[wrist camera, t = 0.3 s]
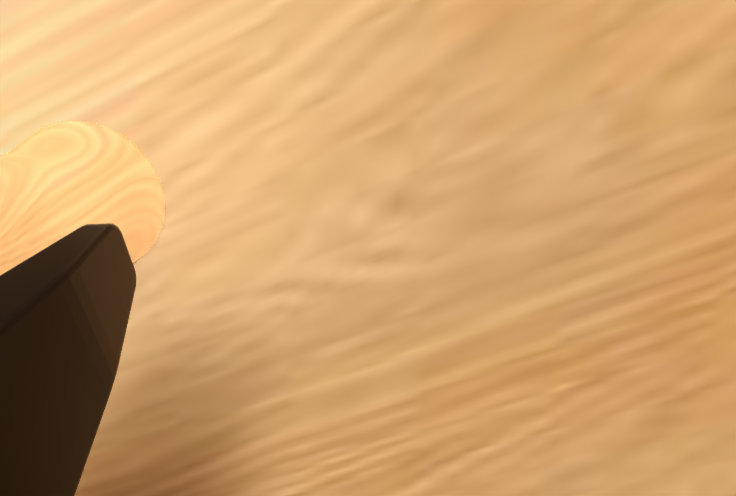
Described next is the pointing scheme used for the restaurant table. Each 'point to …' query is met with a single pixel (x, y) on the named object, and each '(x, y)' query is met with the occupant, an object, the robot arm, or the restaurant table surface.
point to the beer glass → (76, 190)
